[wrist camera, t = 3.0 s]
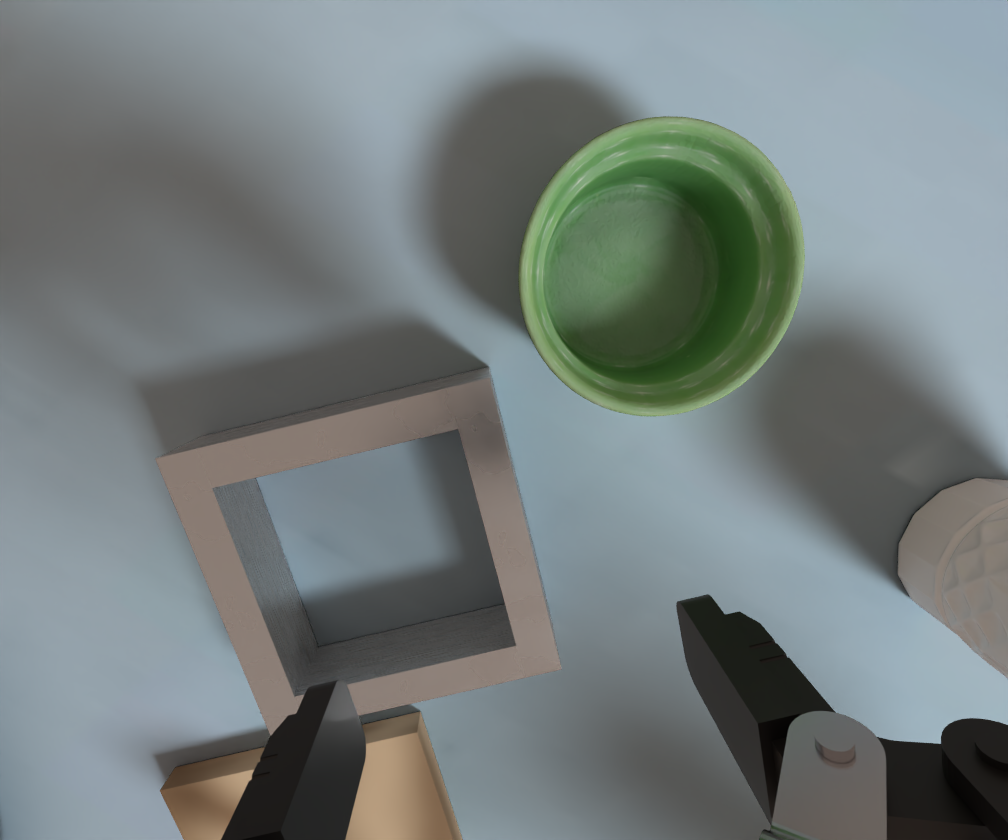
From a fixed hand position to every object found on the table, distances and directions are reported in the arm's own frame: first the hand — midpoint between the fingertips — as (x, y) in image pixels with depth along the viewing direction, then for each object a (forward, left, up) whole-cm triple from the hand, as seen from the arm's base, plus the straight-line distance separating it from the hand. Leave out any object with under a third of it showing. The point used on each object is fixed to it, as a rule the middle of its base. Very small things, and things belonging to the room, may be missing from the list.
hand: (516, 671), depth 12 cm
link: (+5, 0, -10) cm, 11 cm away
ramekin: (-7, -8, -11) cm, 15 cm away
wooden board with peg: (+12, +15, -10) cm, 22 cm away
